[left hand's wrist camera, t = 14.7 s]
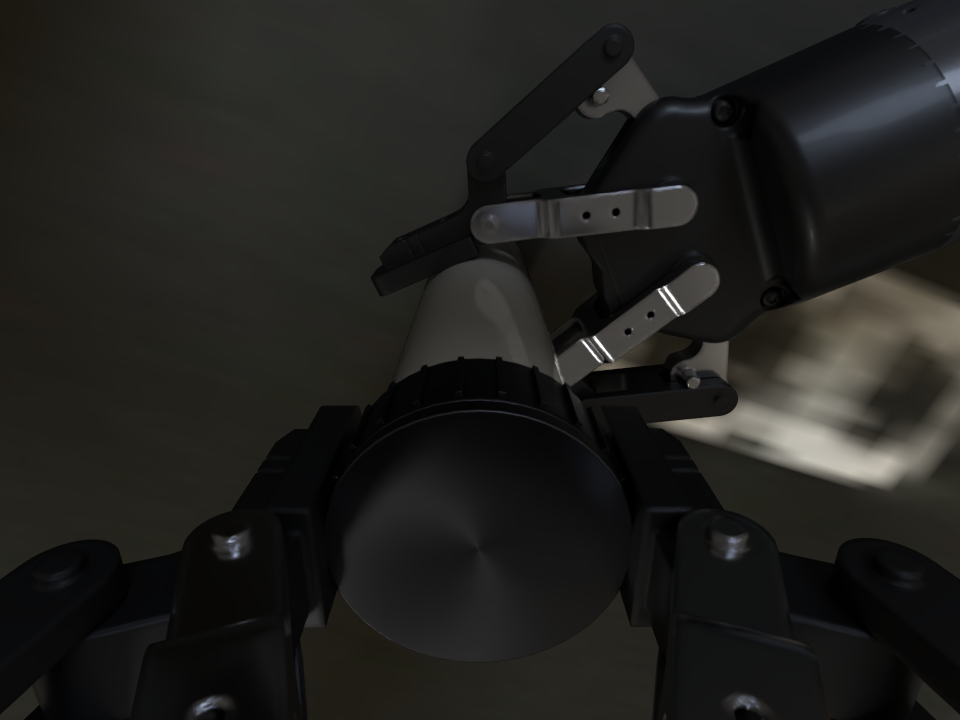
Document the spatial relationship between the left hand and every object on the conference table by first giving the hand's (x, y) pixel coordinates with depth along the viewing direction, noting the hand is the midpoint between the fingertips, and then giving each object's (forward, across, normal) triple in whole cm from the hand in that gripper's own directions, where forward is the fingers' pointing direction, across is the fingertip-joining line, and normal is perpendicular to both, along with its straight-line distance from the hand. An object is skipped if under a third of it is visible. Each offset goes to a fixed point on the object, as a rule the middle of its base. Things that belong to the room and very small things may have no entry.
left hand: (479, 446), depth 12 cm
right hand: (+9, -2, -1) cm, 10 cm away
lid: (-3, 0, 0) cm, 3 cm away
